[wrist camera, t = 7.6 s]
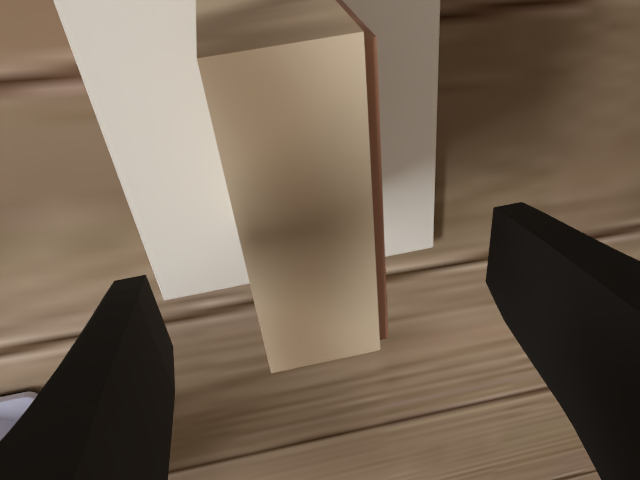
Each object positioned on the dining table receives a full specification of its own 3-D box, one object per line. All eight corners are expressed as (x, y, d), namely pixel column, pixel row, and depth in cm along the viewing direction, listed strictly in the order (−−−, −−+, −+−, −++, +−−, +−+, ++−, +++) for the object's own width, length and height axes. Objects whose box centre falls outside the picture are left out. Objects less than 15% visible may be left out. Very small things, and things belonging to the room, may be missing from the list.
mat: (429, 240, 25) (433, 247, 25) (164, 292, 24) (164, 300, 24) (439, -212, 15) (446, -214, 15) (0, -159, 14) (-6, -159, 14)
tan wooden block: (308, -42, 17) (378, 29, 11) (333, 203, 22) (390, 347, 16) (195, -25, 17) (196, 58, 10) (248, 219, 22) (271, 373, 16)
